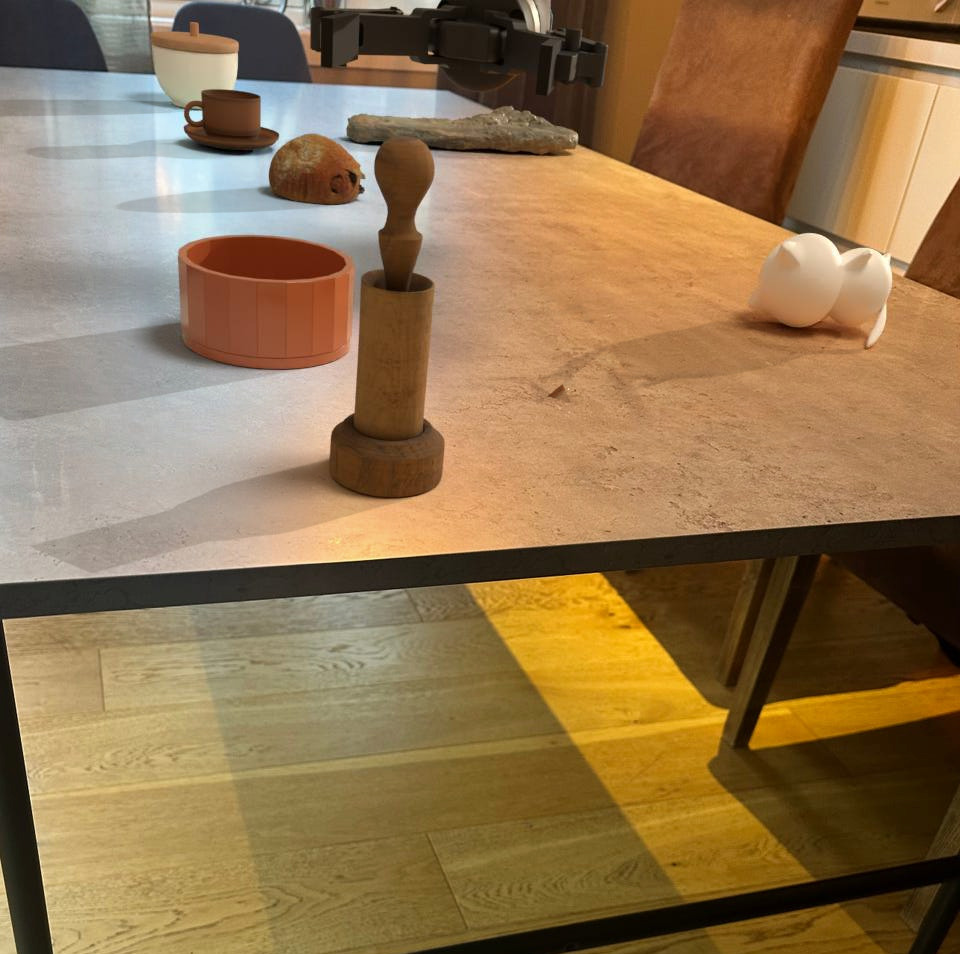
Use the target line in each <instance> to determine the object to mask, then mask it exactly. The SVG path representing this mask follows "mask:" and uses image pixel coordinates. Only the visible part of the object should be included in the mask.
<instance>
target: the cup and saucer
mask: <svg viewBox="0 0 960 954" xmlns="http://www.w3.org/2000/svg"><path fill="white" fill-rule="evenodd" d="M201 98H202V101H191V102H189V103H188V104H187V105H186V107H185V108H184V110H183V115H184V120H185V122H186V124H184V125H183V131H184V133H185V134H186V135H187V136H188V138H190V139H191V140H192V141H194V142H196V143H199V144H200V145H204V146H208V147H210V148H211V147H212V148H216V149H220V150H227V151H254V150H255V151H257V150H262V149H266V148H269V147H271V146H273V145H275V144H276V143H277V141H279V139H280V133H279V132H277V131H276V130H273V129H271V128H268V127H265V126H264V127H263V126H261V125H262V124H261V117H262V115H261V110H262V109H261V108H262V105H261V103H262V99H261V98H262V97H261V95H260V94H256V93H253V92H249V91H243V90H236V89H233V90H225V89H209V90H203V91H201ZM195 106H197V107H200V108H202V110H201V116H202V119H200V120H198V121H194V120H193V119H192V118H191V116H190V111H191V110H192V109H191V108H192V107H195Z"/></svg>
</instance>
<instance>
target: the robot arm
mask: <svg viewBox="0 0 960 954" xmlns="http://www.w3.org/2000/svg"><path fill="white" fill-rule="evenodd" d="M551 1H552V0H439V2H438V4H437V6H436V7H435V8H433V7H432V8H431V7H414V8H413V9H412V11H411V13H410V14H404V11H403V10H402V9H400V8H398V6H392V5H391V6H390V7H388V8H387V7H385V8H345V7H324V6H320V5H315V6H312V7H310V15H309V16H310V19H309V20H310V22H309V23H310V25H309V30H310V31H309V49H311V51H314V52H316V53H320V68H326V69H327V68H328V69H334V68H339V67H340V68H347V67H348V65H347V64H349V63H351V62H354V61H358V60H359V56H383V57H385V56H386V57H409V59H410V61H412V62H414V63H417V64H421V65H437V66H438V67H439V69H440V70H441V72H442V73H443V75H444V76H445V77H446V79H448V81H450V82H451V83H452V84H454V85H455V86H456V87H458V88H460V89H463V90H465V91H469V92H473V93H488V92H493V91H495V90H498V89H501V88H502V87H504V86H506V85H507V84H508V83H510V82H511V81H512V80H513V79H515V78H516V77H517V76H521V75H522V74H523V73H526V74H530V75H533V76H536V83H535V93H534V95H536V96H537V95H538V96H544V97H548V96H549V95H550V94H551V92H552V91H553V90H554V89H555V88H556V87H557V86H558V84H559V83H561V84H562V85H563V86H571V85H576V83H577V82H578V83H581V84H583V85H587V86H589V88H590V89H598V88H601V87H603V86H604V80H605V73H606V66H607V59H608V51H609V45H608V44H607V43H604V42H603V41H595V40H591V39H589V38H585V37H583V29H582V28H568V27H567V28H562V27H557V28H556V29H552V27H553V19H554V18H553V13H552V9H551V6H552V5H551V3H552V2H551ZM429 53H430V54H429ZM431 53H432V54H431Z"/></svg>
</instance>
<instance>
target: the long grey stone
mask: <svg viewBox="0 0 960 954" xmlns="http://www.w3.org/2000/svg"><path fill="white" fill-rule="evenodd" d="M345 129H346V130H345V131H346V136H347V138H349V140H351V141H354V142H355V143H362V144H363V143H364V144H365V143H369V142H371V141H372V142H382V143H384V142H385V141H387V140H388V139H391V138H394V137H398V136H406V137H412V138H417V139H419V140H421V141H422V142H423V143H424V144H426V146H427V147H433V148H435V147H436V148H441V149H446V150H461V151H462V150H463V151H464V150H465V151H466V150H469V151H470V150H479V149H482V150H488V149H492V150H497V151H502V152H509V153H517V152H520V151H521V152H529V153H532V154H536V155H537V154H538V155H539V156H543V155H544V154H548V153H549V152H558V151H559V152H563V151H566V150H568V151H570V150H576V148H577V146H578V144H579V134H578V133H577V131H574V130H573V129H571V128H567V127H564V126H558V125H554V124H552V123H551V122H549V120H547V119H545V118H544V117H542V116H538V115H537V116H536V115H535V114H533V113H532V112H531V111H530V110H523V111H520V110H516V109H514V107H513V105H509V106H508V105H506V106H501V107H498V108H495V109H493V110H492V111H491V112H490V113H478V114H474V115H472V116H471V117H469V116H466V117H463V118H460V117H459V118H457V119H453V120H451V119H450V118H448V117H444V118H443V117H442V118H440V117H439V118H438V117H437V118H436V117H425V116H424V117H405V116H404V117H402V116H393V115H385V116H384V115H376V114H368V113H359V114H354V115H352V116H351V117H347V126H346V128H345Z"/></svg>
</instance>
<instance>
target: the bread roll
mask: <svg viewBox="0 0 960 954" xmlns="http://www.w3.org/2000/svg"><path fill="white" fill-rule="evenodd" d="M361 166H362V165H361V163H360V162H358V161H357V160H356V159H355V158H354V156H353V155H352V154H350V153H349V152H348V151H347V150H346V149H345V148H344V147H343V146H342V145H341V144H340V143H337V141H334V140H332V139H330V138H329V137H327V136H325V135H321V134H318V133H315V132H312V133H305V134H302V135H299V136H297V137H294V138H292V139H290V140H289V141H287V142H285V143H284V144H283V145H281V146H280V147H279V149H278V150H277V151H275V153H274V155H273V157H272V158H271V161H270V164H269V169H268V184H269V187H270V189H271V190H272V192H273V193H274V195H276V196H278V197H280V198H284V199H287V200H291V201H293V202H301V203H302V202H303V203H309V204H319V205H343V204H347V203H351V202H353V201H356V200H357V199H358V198H359V195H363V194H364V193H365V189H366V188H365V187H364V186H362V184H361V180H366V178H367V177H366V174H365V173H363V172H362V170H361Z"/></svg>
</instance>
